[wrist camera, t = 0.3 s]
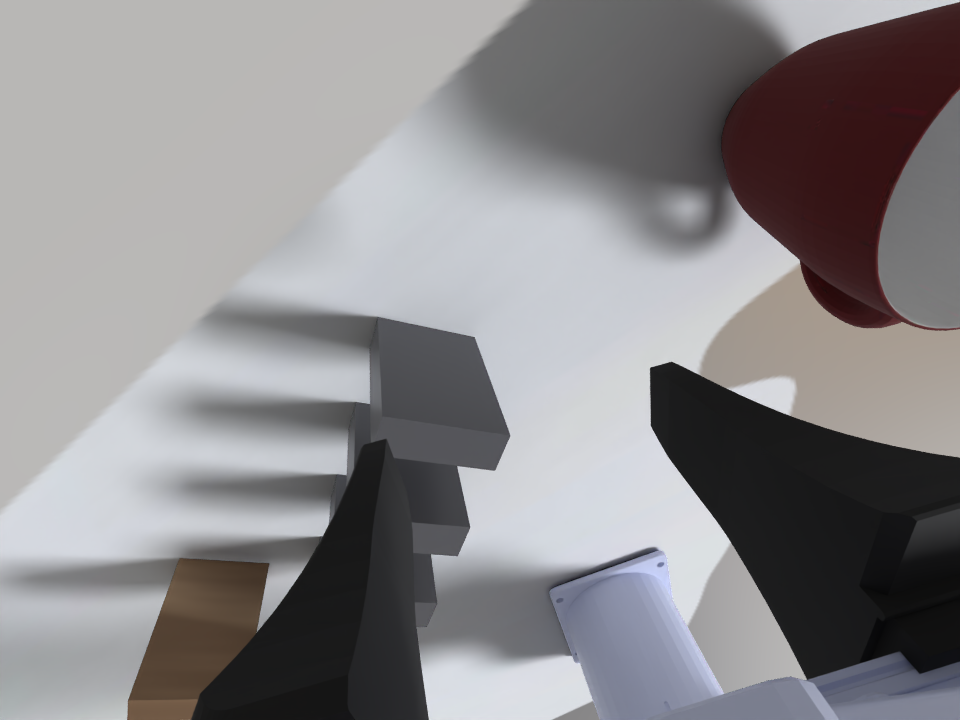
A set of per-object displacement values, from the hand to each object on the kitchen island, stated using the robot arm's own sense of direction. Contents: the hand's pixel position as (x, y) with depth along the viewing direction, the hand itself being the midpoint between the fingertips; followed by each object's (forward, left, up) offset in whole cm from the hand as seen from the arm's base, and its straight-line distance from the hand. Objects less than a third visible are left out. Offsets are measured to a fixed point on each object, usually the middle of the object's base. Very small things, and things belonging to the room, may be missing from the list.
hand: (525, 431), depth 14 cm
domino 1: (-11, +17, -10) cm, 23 cm away
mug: (+1, -14, -10) cm, 17 cm away
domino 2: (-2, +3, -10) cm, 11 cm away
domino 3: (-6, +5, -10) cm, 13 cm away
